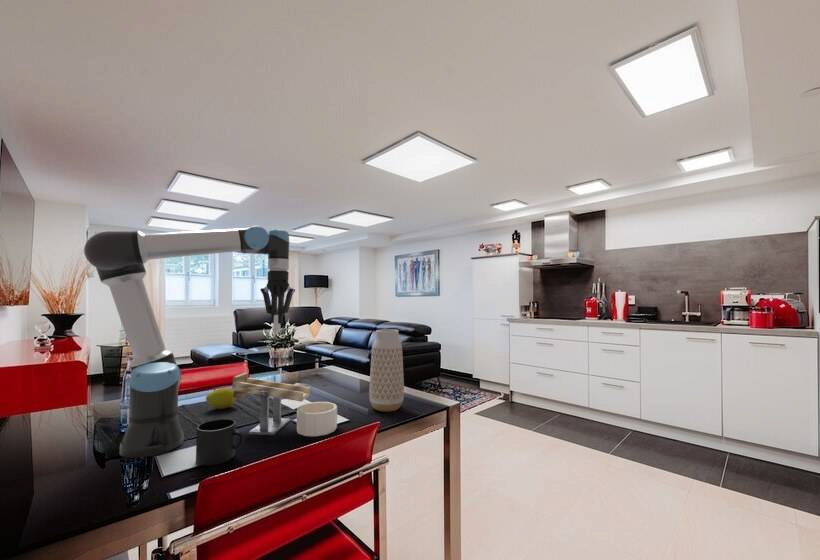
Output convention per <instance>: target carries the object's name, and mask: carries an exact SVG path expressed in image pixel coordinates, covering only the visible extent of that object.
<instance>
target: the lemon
mask: <svg viewBox="0 0 820 560" xmlns="http://www.w3.org/2000/svg"><path fill="white" fill-rule="evenodd" d="M233 394H234V390H232V388H230V387H220V388H216V389H214V390H213V391H212V392H210V393H208V394H206V396H205V400H206V403H207V404H209V405H210V406H211V407H212V408H214V409H216V410H223V409H228V408H230V407H232V406H233V405H234V404H235V402H236V400H237V399H238V398H235V397H233Z"/></svg>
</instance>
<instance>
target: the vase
mask: <svg viewBox="0 0 820 560" xmlns="http://www.w3.org/2000/svg"><path fill="white" fill-rule="evenodd" d="M399 332H400V331H399V329H390V328H389V329H386V328H384V329H382V328H381V329H377V330H375V339H374V341H373V343H372V345H371V356H370V358H371V359H370V372H369V373H370V374H369V376H370V377H369V387H368V389H369V391H368V392H369V401H370V402H369V403H370V404H371V406H372V408H373V409H374V410H376V411H379V412H384V413H385V412H395V411H397V410H398V409H400V407H401V406H402V404H403V402H404V397H405V382H404V381H405V380H404V361H403V360H404V358H403V357H404V356H403V345H402V343H401V341H400V339H399V335H400V334H399Z"/></svg>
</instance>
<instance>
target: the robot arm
mask: <svg viewBox="0 0 820 560" xmlns="http://www.w3.org/2000/svg"><path fill="white" fill-rule="evenodd" d="M290 244H291V243H290V234H289V232H288V231H287V230H283V229H270V230H269V231H267V230H266V229H265V228H264V227H262V226H259V225H253V226H250V227H245V228H227V229H226V228H225V229H210V230H208V229H207V230H206V229H205V230H192V231H175V232H172V231H171V232H160V233H159V232H158V233H143V232H142V231H140V230H131V231H130V230H127V231H125V230H124V231H123V230H121V231H119V230H118V231H117V230H115V231H113V230H112V231H111V230H110V231H101V232H98V233H96V234H94V235H92V236H91V237H89V238H88V240H87V241H86V242H85V244H84V249H83V251H84V252H83V253H84V256H85V259H86V261H87V262H89V263H90V264H91V265H92V266H93V267H95V268H96V272H97V275H98V279H99V280H100V282H101V284H104V285H106V286H107V287H109V289H110V293H111V296H112V299H113V301H114V304H115V307H116V310H117V313H118V317H119V319H120V322H121V325H122V327H123V330H124V334H125V337H126V339H127V342H128V346H129V348H130V351H131V354H132V356H133V360H132V361H131V363H130V364H129V367H130V371H131V373H130V377H129V380H128V383H129V400H128V401H129V403H128V405H129V407H128V424H127V426H126V429H125V432H124V435H123V437H122V440H121V442H120V444H119V456H121V457H123V458H129V459H138V458H139V459H140V458H146V457H147V458H148V457H154V456H157V455H161V454H164V453H167V452H170V451H172V450H174V449H176V448H178V447H179V446H181V445H182V444H183V443H184V435H185V434H184V431H183V430H182V427H181V426H182V425H181V423H180V421H179V417H178V409H179V408H178V407H179V387H180V383H181V381H182V371H181V368H180V367H179V366H178V364H177V362H176V359H175V356H174V353H173V351H171V350H169V349H167V348H166V347H165V343H164V340H163V337H162V335H161V332H160V327H159V325H158V323H157V319H156V316H155V313H154V310H153V307H152V303H151V301H150V297H149V295H148V291H147V288H146V285H145V283H144V280H143V279H144V278H145V276H146V274H147V271H146V268H145V265H144V264H146V263H147V262H149V260H157V259H168V258H170V259H171V258H180V257H190V256H191V257H193V256H200V255H201V256H202V255H203V256H204V255H211V254H213V255H214V254H223V253H232V252H233V253H238V254H239V253H240V254H253V255H255V254H256V255H267V269H268V271H267V283H266V286H264V287H263V288H260V292H261V293H262V297H263V302H264V306H265V311H266V313H267V314H269V315H271V324H273V334H274V333H281V326H282V325H281V324H283V323H284V315H286V314H288V313H289V310H290V305H291V302H292V298H293V295H294V293H295V292H296V289H295V288H293V287H291V286H290V284H289V274H290V273H289V269H290V267H289V266H290V264H289V263H290V258H289V256H290ZM286 292H287V293H286ZM285 294H286V297H285Z"/></svg>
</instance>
